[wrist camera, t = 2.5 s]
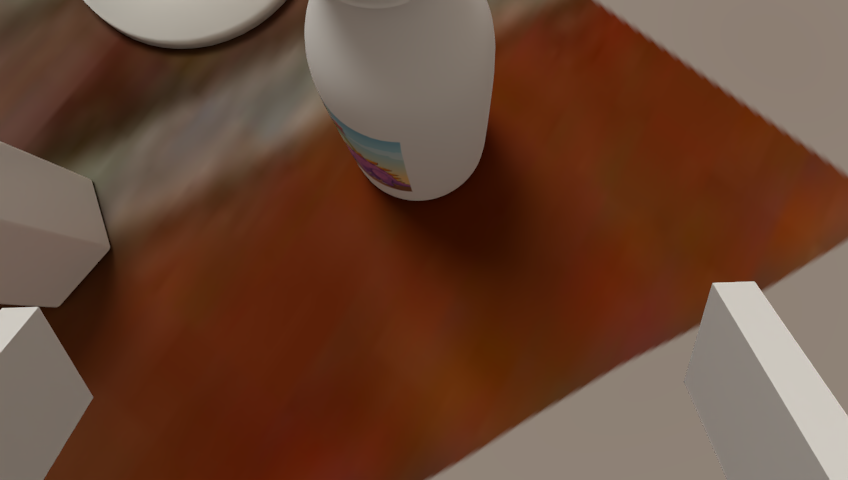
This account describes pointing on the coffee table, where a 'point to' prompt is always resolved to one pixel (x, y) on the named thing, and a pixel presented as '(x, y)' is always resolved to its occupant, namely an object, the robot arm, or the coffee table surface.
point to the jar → (45, 230)
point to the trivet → (184, 19)
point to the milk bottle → (406, 87)
